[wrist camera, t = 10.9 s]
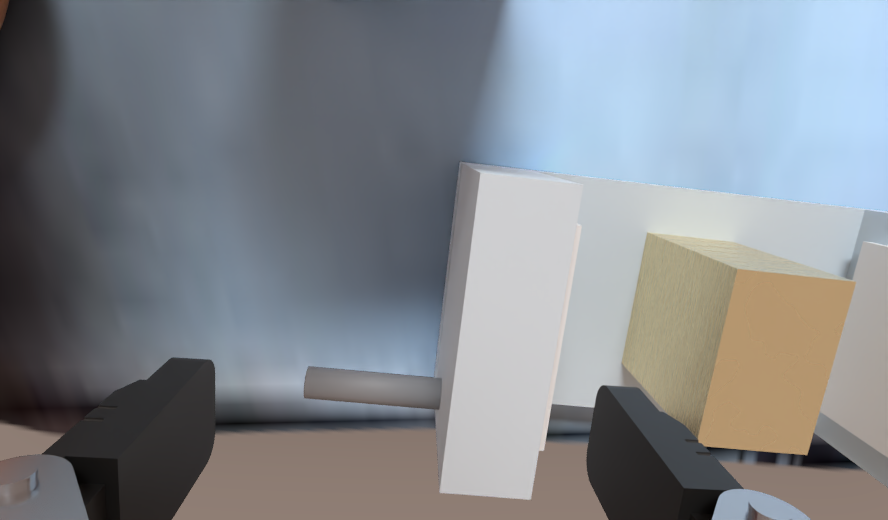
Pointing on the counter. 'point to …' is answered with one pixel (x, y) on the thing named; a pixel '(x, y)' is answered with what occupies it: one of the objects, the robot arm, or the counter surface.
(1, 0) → the ceramic jug
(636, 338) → the block
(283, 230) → the counter surface
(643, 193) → the vise
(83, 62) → the counter surface
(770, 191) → the counter surface
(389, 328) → the counter surface
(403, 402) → the jaw
